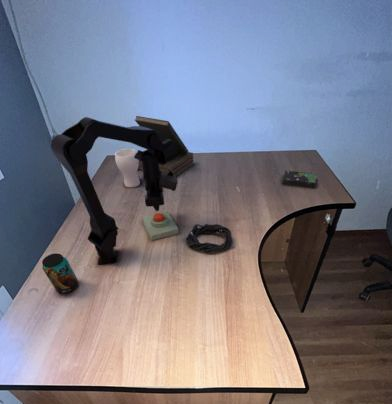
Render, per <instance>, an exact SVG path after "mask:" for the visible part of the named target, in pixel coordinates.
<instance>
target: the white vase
mask: <svg viewBox="0 0 392 404" xmlns="http://www.w3.org/2000/svg"><path fill="white" fill-rule="evenodd" d="M136 153H137V151H136V149H133V148H122V149H119V150H117V151H116V152H115V153H114V157H115V158H114V160H115V164H116V167H117V168H118V170H119V171H120V173H121V175H122V177H123V183H124V187H126V188H137V187H138V186H140V184H141V181H140V179H139V176H138V170H139V160H138V159H135V158H134V156H135V154H136Z"/></svg>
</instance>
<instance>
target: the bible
mask: <svg viewBox="0 0 392 404" xmlns="http://www.w3.org/2000/svg"><path fill="white" fill-rule="evenodd" d="M134 121H135V123H136V124H137V126H142V127H146V128H149V129H152V130H155V131H156V132H157V134H158V137H159V139H160V140H161V141H162V142H164V141H165V140H167V139H170V140H172V141H173V145H174V146H175V147H176V150H177V152H178V157H177V159H176V160H174V161H172V162H169V163H167V164H165V165H161V164H159V168H160V170H161V174H165V173H167V172H168V171H169V170H170V171H173V175H174V176H176V177H177V176H180V174H182V173H184V172H185V171H186V170H188V169H189V168H191V167H192V166H194V152H191V151H189V149H188V148H187V145H185V143H184V142H183V140H182V139H181V138H180V136H179V135H178V133H177V132H176V130H175V128H174V127H173V126H172V124H171V122H170V121H169V120H163V119H158V118H152V117H145V116H139V115H135V118H134ZM138 170H139V171H142V172H143V169H142V164H141V161H140V160H139V167H138Z"/></svg>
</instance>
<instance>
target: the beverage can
mask: <svg viewBox="0 0 392 404" xmlns="http://www.w3.org/2000/svg"><path fill="white" fill-rule="evenodd" d="M41 264H42V270H43V272H44V274H45V276H46V277H47V278H48V280H49V282H50V283H51V285H52V287H53V288H54V290H55V291H56V293H58V294H59V295H70V294H73V293H74V292H76V290H77V289H78V288H79V286H80V282H79V280H78V277H77V276H76V274H75V272H74V270H73V268H72V266H71V265H70V262H69V260H68V259H67V258H66V257H64V256H63V255H62V254H61V253H57V252H55V253H51V254H48V255H46V256H45V257H44V258H43V259H42V260H41Z"/></svg>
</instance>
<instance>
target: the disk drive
mask: <svg viewBox="0 0 392 404" xmlns="http://www.w3.org/2000/svg"><path fill="white" fill-rule="evenodd" d="M281 184H282V185H284V186H293V187H302V188H315V187H316V184H317V174H316V173H313V172H303V171H294V170H285V171H284V175H283V179H282V183H281Z"/></svg>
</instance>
